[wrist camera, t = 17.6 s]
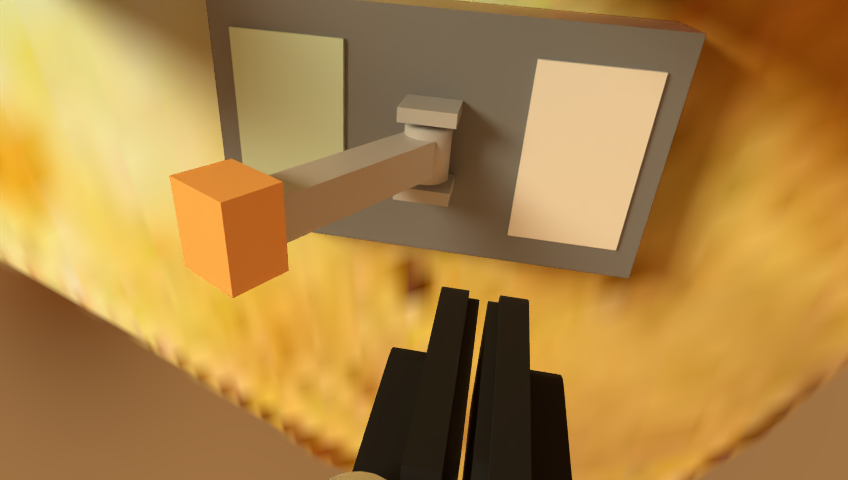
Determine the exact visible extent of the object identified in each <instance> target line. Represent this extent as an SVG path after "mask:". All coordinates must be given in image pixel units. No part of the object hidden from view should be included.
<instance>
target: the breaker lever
mask: <svg viewBox="0 0 848 480" xmlns="http://www.w3.org/2000/svg"><path fill="white" fill-rule="evenodd" d="M452 133H453V129H450V128H441V127H433V126H425V125H417V124H408V123H405V130H404V132H402V133H399V134H396V135H392V136H389V137H386V138H383V139H380V140H377V141H374V142H371V143H367V144H364V145H361V146H358V147H355V148H352V149H349V150H345V151H342V152H339V153H336V154H333V155H330V156H327V157H323V158H320V159H317V160H314V161H311V162H308V163H305V164H302V165H298V166H295V167H292V168H289V169H286V170H283V171H280V172H276V173H273V174H270V175H267V174H265V173H263V172H260V171H258V170H256V169H254V168H252V167H249V166H247V165H245V164H243V163H240V162H238V161H236V160H234V159H228V160H225V161H221V162H217V163H214V164H210V165H207V166H203V167H199V168H196V169H192V170H188V171H185V172H181V173H177V174H174V175H170V182H171V187H172V193H173V199H174V204H175V210H176V216H177V221H178V227H179V233H180V238H181V244H182V249H183V255H184V261H185V266H186V267H187V268H189V269H190V270H192V271H193V272H195V273H196V274H198V275H199V276H201V277H202V278H204V279H205V280H207V281H208V282H210V283H211V284H213V285H214V286H216V287H217V288H219V289H220V290H221V291H223V292H224V293H226V294H227V295H229V296H230V297H232V298H234V297H236V296H238V295H240V294H242V293H244V292H246V291H248V290H250V289H252V288H254V287H256V286H258V285H260V284H262V283H264V282H266V281H268V280H270V279H272V278H274V277H277V276H279V275H281V274H283V273H285V272H287V271H289V270H288V254H287V243H288V242H290V241H292V240H295V239H297V238H299V237H301V236H304V235H306V234H308V233H310V232H313V231H315V230H317V229H319V228H322V227H324V226H326V225H328V224H331V223H333V222H335V221H337V220H340V219H342V218H344V217H346V216H349V215H351V214H353V213H355V212H358V211H360V210H362V209H364V208H367V207H369V206H371V205H373V204H376V203H378V202H380V201H382V200H385V199H387V198H389V197H391V196H394V195H396V194H398V193H400V192H403V191H405V190H407V189H409V188H412V187H414V186H416V185H418V184H420V185H437V184H441V183H444V182H445V181H447V179H448V172H449V162H450V152H451V143H452Z"/></svg>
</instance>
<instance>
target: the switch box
mask: <svg viewBox="0 0 848 480" xmlns="http://www.w3.org/2000/svg"><path fill="white" fill-rule="evenodd" d="M206 4H207V12H208V21H209V29H210V38H211V46H212V54H213V63H214V71H215V80H216V88H217V96H218V105H219V113H220V121H221V130H222V138H223V147H224V155H225V160H228V159H234V160H236V161H238V162H240V163H243V164H245V165H247V166H249V167H252V168H254V169H256V170H258V171H260V172H263V173H265V174H267V175H270V174H273V173H276V172H280V171H283V170H286V169H289V168H292V167H295V166H298V165H302V164H305V163H308V162H311V161H314V160H317V159H320V158H323V157H327V156H330V155H333V154H336V153H339V152H342V151H345V150H349V149H352V148H355V147H358V146H361V145H364V144H367V143H371V142H374V141H377V140H380V139H383V138H386V137H389V136H392V135H396V134H399V133H402V132H404V130H405V123H408V124H417V125H425V126H433V127H441V128H450V129H453V133H452V143H451V152H450V162H449V172H448V179H447V181H445V182H444V183H441V184H437V185H420V184H418V185H416V186H414V187H412V188H409V189H407V190H405V191H403V192H400V193H398V194H396V195H394V196H391V197H389V198H387V199H385V200H382V201H380V202H378V203H376V204H373V205H371V206H369V207H367V208H364V209H362V210H360V211H358V212H355V213H353V214H351V215H349V216H346V217H344V218H342V219H340V220H337V221H335V222H333V223H331V224H328V225H326V226H324V227H322V228H319V229H317V230H315V231H313V232H314V233H321V234H328V235H334V236H341V237H348V238H355V239H362V240H369V241H376V242H382V243H389V244H396V245H403V246H410V247H417V248H423V249H430V250H437V251H444V252H451V253H458V254H465V255H471V256H478V257H485V258H492V259H499V260H506V261H513V262H519V263H526V264H533V265H540V266H547V267H554V268H560V269H567V270H574V271H581V272H588V273H595V274H602V275H608V276H615V277H622V278H629V276H630V273H631V270H632V267H633V263H634V260H635V257H636V254H637V251H638V248H639V245H640V241H641V238H642V235H643V232H644V229H645V226H646V223H647V219H648V216H649V213H650V210H651V207H652V204H653V200H654V197H655V194H656V191H657V188H658V185H659V182H660V178H661V175H662V172H663V169H664V166H665V163H666V160H667V156H668V153H669V150H670V147H671V144H672V141H673V138H674V134H675V131H676V128H677V125H678V122H679V119H680V116H681V112H682V109H683V106H684V103H685V100H686V97H687V93H688V90H689V87H690V84H691V81H692V78H693V75H694V71H695V68H696V65H697V62H698V59H699V56H700V53H701V49H702V46H703V43H704V40H705V37H706V33H703V32H701V31H699V30H696V29H694V28H692V27H690V26H687V25H685V24H683V23H680V22H676V21H666V20H655V19H645V18H634V17H624V16H613V15H603V14H592V13H582V12H571V11H561V10H550V9H540V8H529V7H519V6H508V5H498V4H487V3H477V2H466V1H456V0H206Z"/></svg>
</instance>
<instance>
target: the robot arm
mask: <svg viewBox="0 0 848 480" xmlns="http://www.w3.org/2000/svg"><path fill="white" fill-rule="evenodd" d="M478 307H479V300H478V299H471V298H469V291H468V290H461V289H455V288H448V287H442V289H441V293H440V297H439V301H438V306H437V310H436V315H435V319H434V323H433V328H432V332H431V336H430V341H429V345H428V349H427V353H426V352H420V351H414V350H407V349H401V348H395V347H393V348H392V349H391V352H390V354H389V357H388V361H387V364H386V367H385V370H384V373H383V376H382V380H381V383H380V386H379V389H378V392H377V395H376V398H375V402H374V405H373V408H372V411H371V414H370V417H369V421H368V424H367V427H366V430H365V433H364V436H363V440H362V443H361V446H360V449H359V452H358V455H357V459H356V462H355V465H354V468H353V471H352V472H347V473H343V474H340V475H338V476H336V477H333V478H330V479H329V480H458V473H459V465H460V458H461V450H462V441H463V433H464V424H465V416H466V408H467V399H468V391H469V383H470V374H471V366H472V357H473V349H474V341H475V332H476V324H477V316H478ZM462 480H572V475H571V463H570V452H569V441H568V430H567V418H566V407H565V396H564V385H563V378H562V376H561V375H558V374H552V373H546V372H540V371H534V370H530V343H529V301H528V300H527V299H520V298H514V297H507V296H501V295H500V298H499V302H498V303H497V302H491V301H488V304H487V310H486V316H485V322H484V328H483V334H482V341H481V347H480V353H479V359H478V365H477V371H476V377H475V383H474V389H473V395H472V401H471V408H470V416H469V425H468V434H467V443H466V452H465V461H464V470H463V479H462Z"/></svg>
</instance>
